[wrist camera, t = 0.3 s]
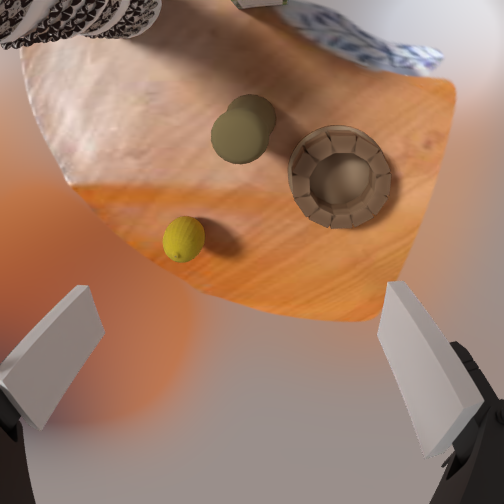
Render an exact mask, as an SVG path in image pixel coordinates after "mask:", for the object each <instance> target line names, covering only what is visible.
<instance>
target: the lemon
mask: <svg viewBox="0 0 504 504" xmlns="http://www.w3.org/2000/svg"><path fill="white" fill-rule="evenodd" d="M204 241H205V231H204V228H203V226H202V225H201V223H200V222H199V221H198V220H197V219H195V218H193V217H189V216H183V217H179V218H177V219H175V220H174V221H172V222H171V223H170V224H169V226H168V227H167V229H166V231H165V233H164V237H163V248H164V251H165V253H166V254H167V256H168V257H169V258H170V259H172V260H173V261H176V262H188V261H190V260H192V259H194V258H195V257H196V256H197V255H198V254H199V253H200V251H201V249H202V247H203V245H204Z"/></svg>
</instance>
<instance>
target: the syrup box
mask: <svg viewBox="0 0 504 504" xmlns="http://www.w3.org/2000/svg"><path fill="white" fill-rule="evenodd" d="M231 1H232V2H233V4H234V5H235V6H236V7H237V8H238V9H245V8H253V7H261V6H272V5H286V4H287V3H288V0H231Z"/></svg>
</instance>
